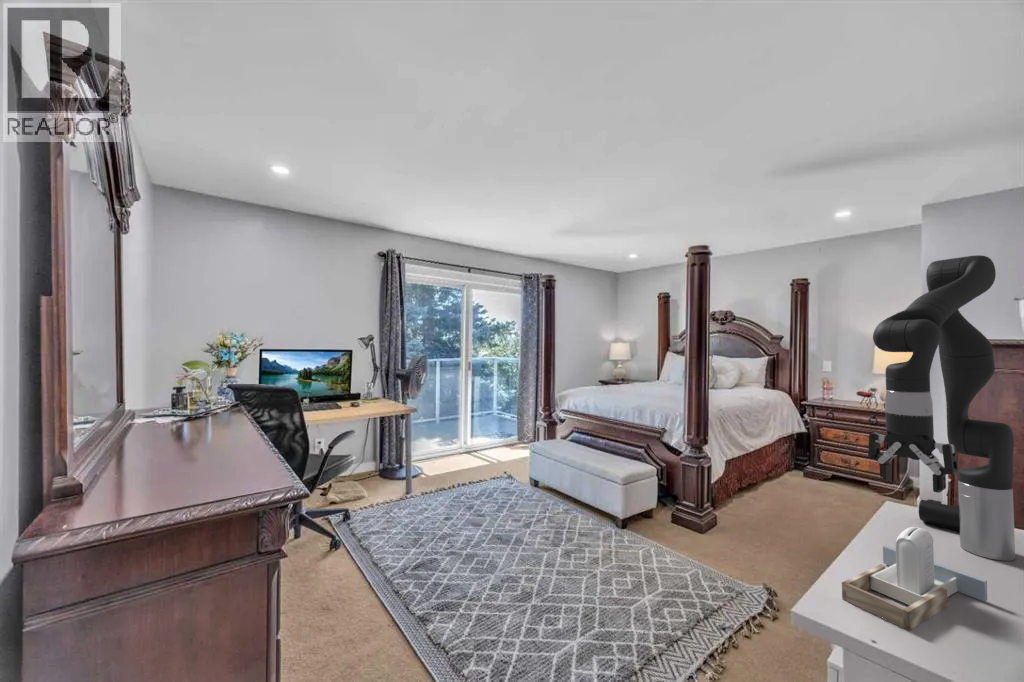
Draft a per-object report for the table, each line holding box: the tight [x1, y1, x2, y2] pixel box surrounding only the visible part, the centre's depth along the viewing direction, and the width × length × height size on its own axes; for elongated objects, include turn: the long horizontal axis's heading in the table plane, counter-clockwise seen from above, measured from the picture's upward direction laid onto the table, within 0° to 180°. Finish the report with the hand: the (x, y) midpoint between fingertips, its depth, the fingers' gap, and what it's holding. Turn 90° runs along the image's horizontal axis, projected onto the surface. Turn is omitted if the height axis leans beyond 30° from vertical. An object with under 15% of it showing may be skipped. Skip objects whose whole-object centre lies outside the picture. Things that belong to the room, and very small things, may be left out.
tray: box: [870, 545, 988, 606], centre depth 91 cm, size 16×17×4 cm
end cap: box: [918, 499, 960, 532], centre depth 120 cm, size 10×7×7 cm
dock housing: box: [841, 564, 948, 631], centre depth 87 cm, size 16×11×4 cm
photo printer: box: [895, 526, 935, 595], centre depth 90 cm, size 10×4×12 cm, turn 121°
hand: (911, 485), depth 91 cm, fingers open, 8 cm apart
